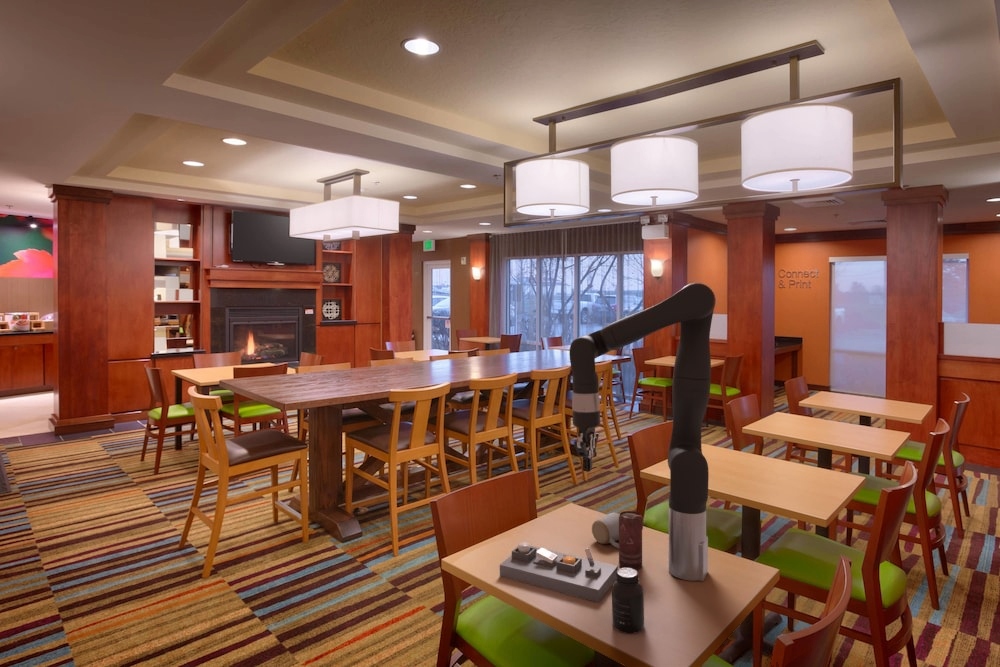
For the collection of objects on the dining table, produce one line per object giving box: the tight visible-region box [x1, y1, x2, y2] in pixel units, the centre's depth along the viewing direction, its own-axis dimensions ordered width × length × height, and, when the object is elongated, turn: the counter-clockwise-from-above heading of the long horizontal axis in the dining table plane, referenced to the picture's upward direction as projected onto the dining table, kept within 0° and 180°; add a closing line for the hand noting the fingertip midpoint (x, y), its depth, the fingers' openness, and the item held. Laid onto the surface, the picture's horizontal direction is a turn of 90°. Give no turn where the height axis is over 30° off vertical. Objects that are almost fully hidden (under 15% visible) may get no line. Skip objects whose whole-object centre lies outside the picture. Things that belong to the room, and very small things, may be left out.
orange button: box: [563, 555, 575, 565], centre depth 143 cm, size 3×3×2 cm
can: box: [618, 510, 644, 571], centre depth 150 cm, size 6×6×14 cm
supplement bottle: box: [611, 567, 645, 634], centre depth 122 cm, size 7×7×12 cm
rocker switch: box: [536, 547, 558, 564], centre depth 146 cm, size 5×3×1 cm
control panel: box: [499, 545, 619, 603], centre depth 145 cm, size 27×14×5 cm, turn 60°
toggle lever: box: [584, 547, 595, 567], centre depth 140 cm, size 1×1×5 cm
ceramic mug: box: [591, 512, 620, 549], centre depth 165 cm, size 11×8×8 cm
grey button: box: [517, 542, 531, 554], centre depth 150 cm, size 3×3×2 cm
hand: (587, 470), depth 155 cm, fingers closed
